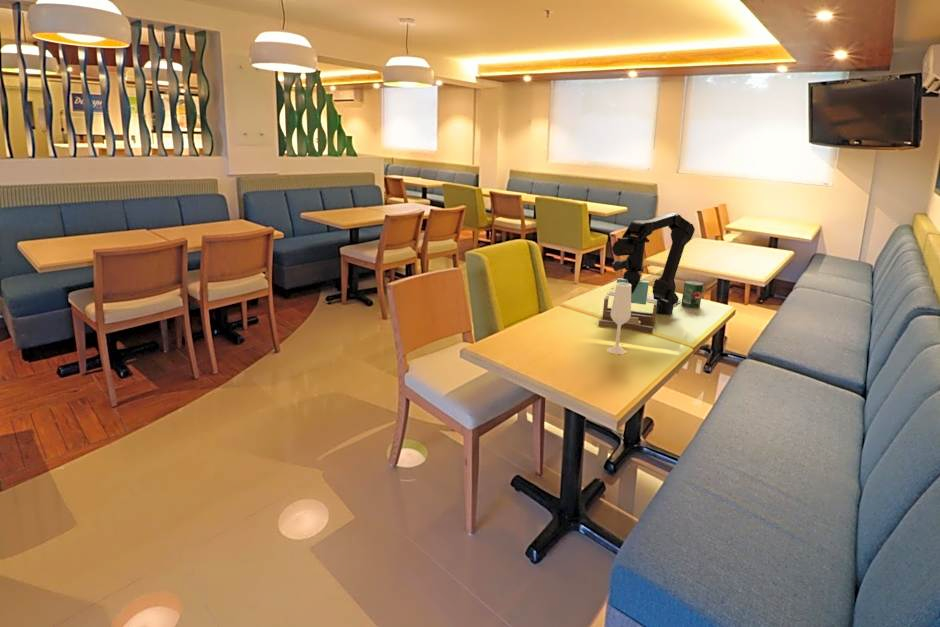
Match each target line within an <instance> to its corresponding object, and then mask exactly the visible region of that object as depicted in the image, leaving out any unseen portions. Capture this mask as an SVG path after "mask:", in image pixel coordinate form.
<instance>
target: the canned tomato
mask: <svg viewBox="0 0 940 627" xmlns="http://www.w3.org/2000/svg"><path fill="white" fill-rule="evenodd" d="M704 284H705V283H703V282H702V281H699V280H685V281H684V285H683V290H682V291H683V292H682V299H681V302H680V303H681V304H680V306H681V305H682V306H681V307H683V308H685V307H686V308H687V309H692V310H696V309H700V308H701V302H702V301H701V300H702V295H703V289H704Z"/></svg>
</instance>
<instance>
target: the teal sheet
mask: <svg viewBox="0 0 940 627" xmlns="http://www.w3.org/2000/svg"><path fill="white" fill-rule="evenodd" d="M621 282H622V283H629V282H628V280H627V279H623V278H620V277H618V278H617V279H616V284H617V283H621ZM649 283H650V281H649V280H648V281H647V280H646V281H645V280H640V281H639V283H638V285H637V286H636V288H635V290H634V292H633V293H631V304H637V305H644V306H645V305H647V302H646V300H647V294H648V293H649V292H648V291H649Z"/></svg>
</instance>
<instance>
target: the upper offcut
mask: <svg viewBox="0 0 940 627" xmlns="http://www.w3.org/2000/svg"><path fill="white" fill-rule="evenodd" d="M638 322H639V321H638V317H630V319H629V320H628V321H627V322H626V323H629V324H636V325H638Z"/></svg>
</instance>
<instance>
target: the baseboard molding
mask: <svg viewBox="0 0 940 627" xmlns="http://www.w3.org/2000/svg"><path fill="white" fill-rule="evenodd" d="M615 290H616V288H614V287H612V288H611V290H610V291H608V293H607V296H613V295H615ZM646 301H647V302H646V303H650V302H652V303H651V304H654V302H655V301H656V302H657V300H655V299H654V296H653V294H648V293H647V300H646ZM680 301H681V302H682V299H678V302H677V303H675V304H674V305H673V308H674V306H675V305H676V306H678V305H679V304H680V303H681V302H680ZM679 302H680V303H679ZM678 303H679V304H678ZM676 306H675V307H676Z"/></svg>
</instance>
